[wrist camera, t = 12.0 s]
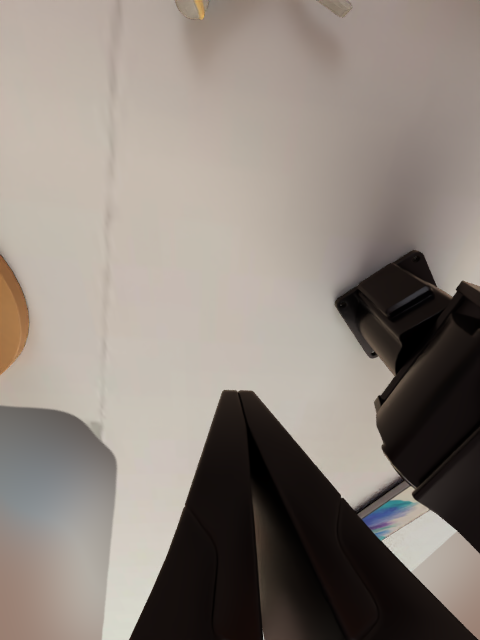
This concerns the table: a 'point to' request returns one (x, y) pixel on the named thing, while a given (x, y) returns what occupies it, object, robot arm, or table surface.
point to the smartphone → (392, 511)
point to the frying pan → (195, 3)
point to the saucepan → (11, 317)
